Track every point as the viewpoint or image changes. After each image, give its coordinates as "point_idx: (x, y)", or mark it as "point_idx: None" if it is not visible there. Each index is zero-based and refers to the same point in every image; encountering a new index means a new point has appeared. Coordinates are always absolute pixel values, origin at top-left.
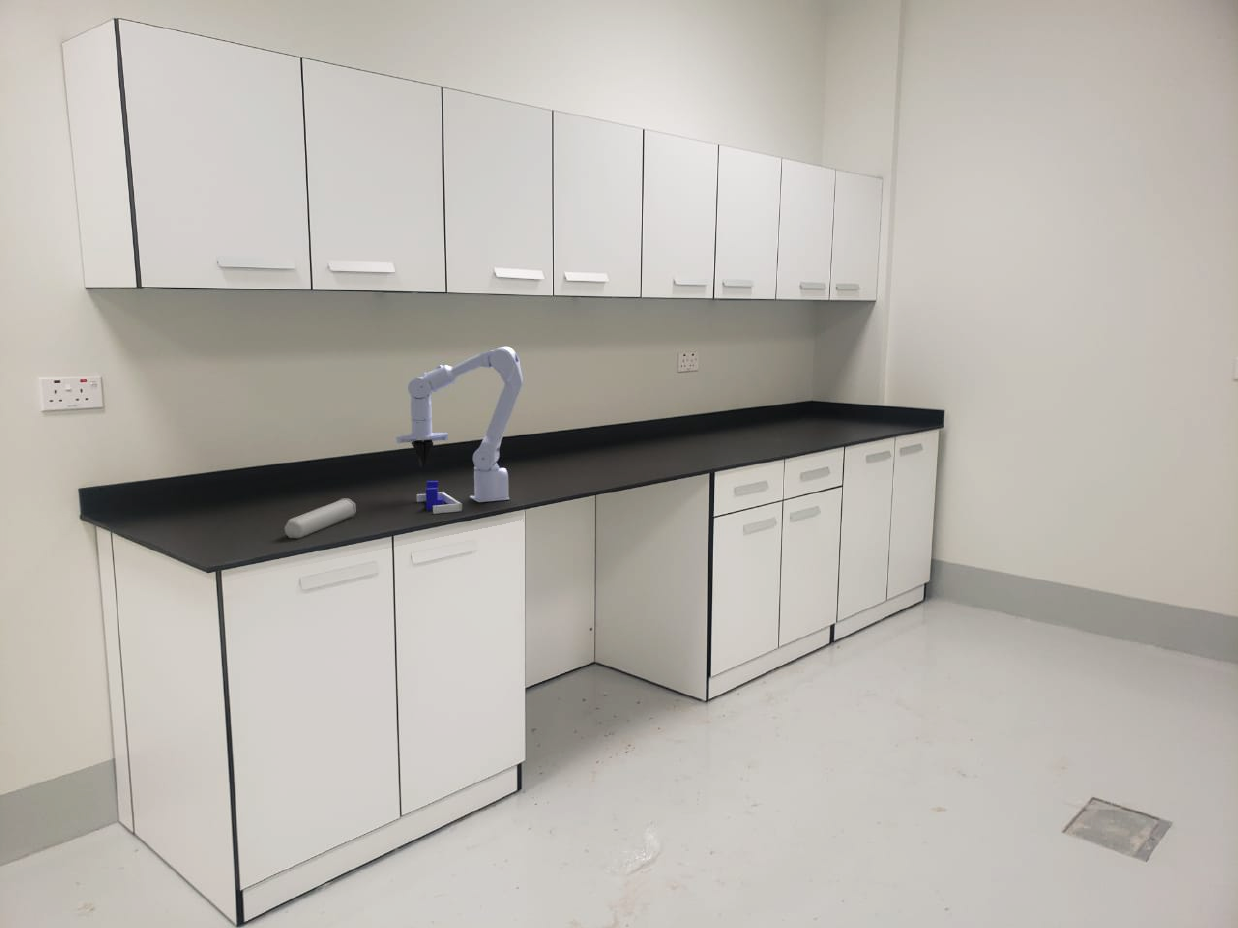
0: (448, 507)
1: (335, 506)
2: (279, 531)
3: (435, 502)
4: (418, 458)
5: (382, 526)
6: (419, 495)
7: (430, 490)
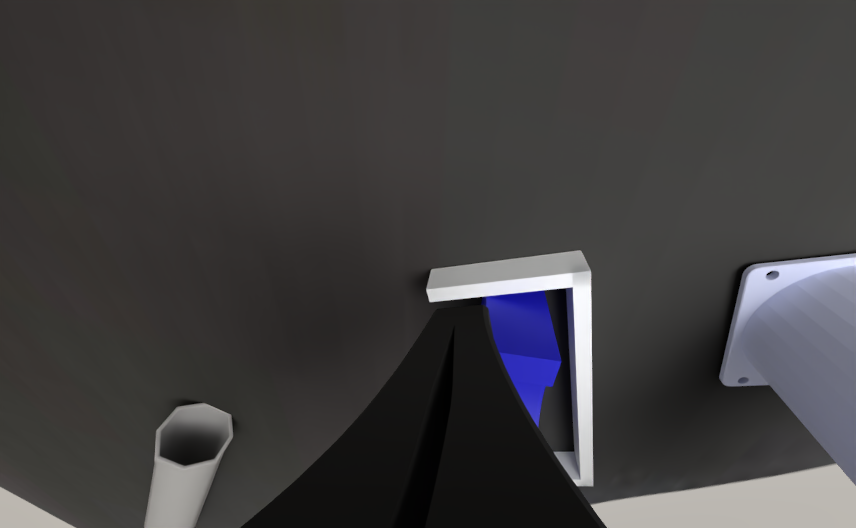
0: None
1: (180, 500)
2: (122, 469)
3: None
4: (404, 369)
5: None
6: (441, 298)
7: None
